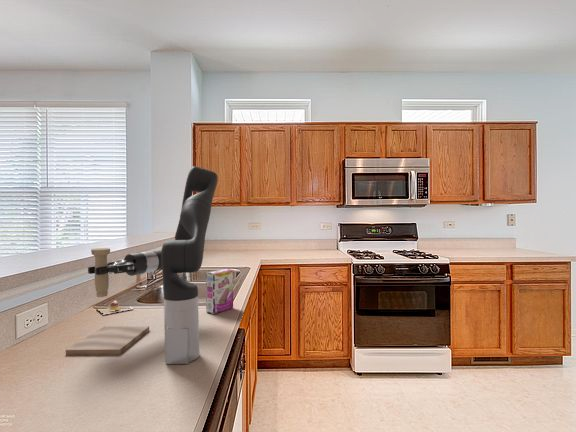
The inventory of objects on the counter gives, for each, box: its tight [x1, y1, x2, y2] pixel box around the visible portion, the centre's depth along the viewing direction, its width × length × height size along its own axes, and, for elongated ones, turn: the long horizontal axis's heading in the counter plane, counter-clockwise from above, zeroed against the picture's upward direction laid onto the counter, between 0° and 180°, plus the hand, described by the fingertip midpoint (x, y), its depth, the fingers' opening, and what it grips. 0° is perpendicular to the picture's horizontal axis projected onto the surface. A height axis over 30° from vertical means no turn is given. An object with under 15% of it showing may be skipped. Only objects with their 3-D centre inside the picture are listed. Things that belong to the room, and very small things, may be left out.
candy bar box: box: [205, 268, 234, 315], centre depth 144 cm, size 11×5×16 cm, turn 144°
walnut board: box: [65, 325, 150, 356], centre depth 111 cm, size 20×16×2 cm
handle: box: [90, 247, 111, 298], centre depth 110 cm, size 5×6×15 cm
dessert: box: [102, 300, 135, 316], centre depth 147 cm, size 12×12×5 cm
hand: (92, 270), depth 107 cm, fingers closed on handle, 3 cm apart
